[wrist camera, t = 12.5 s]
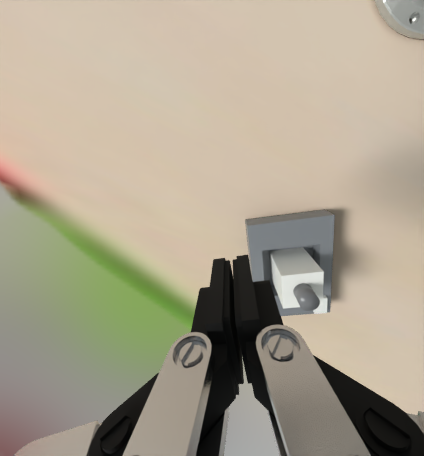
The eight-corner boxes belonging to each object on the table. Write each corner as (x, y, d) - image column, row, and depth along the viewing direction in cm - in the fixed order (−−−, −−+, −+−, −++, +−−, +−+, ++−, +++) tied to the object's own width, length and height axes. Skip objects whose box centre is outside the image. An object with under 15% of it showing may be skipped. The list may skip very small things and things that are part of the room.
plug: (303, 247, 27) (333, 282, 20) (303, 275, 29) (331, 318, 21) (269, 251, 28) (286, 287, 20) (271, 278, 29) (288, 321, 22)
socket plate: (324, 209, 26) (337, 216, 23) (321, 300, 30) (332, 315, 28) (245, 219, 27) (247, 227, 24) (254, 305, 32) (257, 321, 29)
